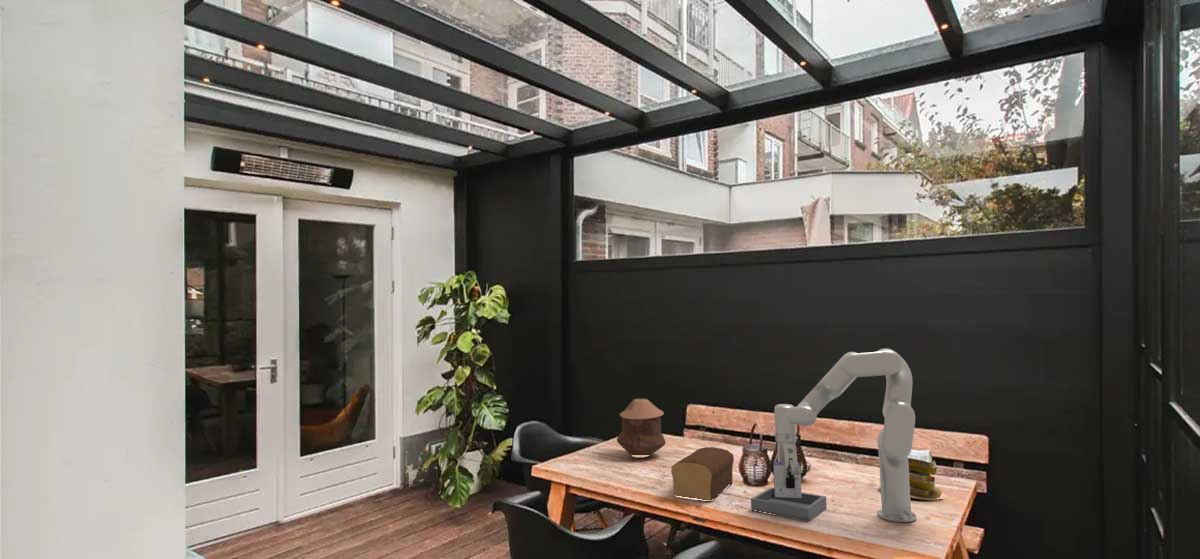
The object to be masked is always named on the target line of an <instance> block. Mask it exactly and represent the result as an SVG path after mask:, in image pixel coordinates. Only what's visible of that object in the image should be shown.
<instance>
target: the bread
mask: <svg viewBox="0 0 1200 559" xmlns="http://www.w3.org/2000/svg"><path fill="white" fill-rule="evenodd" d="M734 461H735V458H734V454H733V453H732V452H731V451H729V450H728V449H725V448H721V447H714V446H713V447H712V446H710V447H709V446H707V447H706V446H705V447H701V448H698V449H696V450H695V451H693V452H692V453H691V454H688V455H687V456H686V457H684V458H683V459H680V460H678V461H677V462H675V464H673V465H672V466H671V470H670V471H671V472H670V473H671V477H672V483H673V494H674V495H676V496H682V497H689V498H697V499H702V500H712V499H714V498H715V497H716V496H717V495H718V494H720V493H721V492H722V491H723V490H724V489H725V488H726V487H727V486H728V485H729V484H731V483H732V484H733V468H734V467H733V465H734ZM732 484H731V485H732ZM722 493H723V492H722ZM722 493H721V494H722ZM721 494H720V495H721ZM716 498H717V497H716ZM716 498H715V499H716ZM715 499H714V500H715Z"/></svg>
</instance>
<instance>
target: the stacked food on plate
mask: <svg viewBox="0 0 1200 559" xmlns="http://www.w3.org/2000/svg"><path fill="white" fill-rule="evenodd" d="M908 464H909V483H910V498H913V499H919V500H924V501H938V500H937V498H940V496H941V494H942V492H941V491H944V490H943V489H941V488H939V487H937V486H936V477H935V475H936V474H937V468H938V466H937V464H936V461H935V460H933V453H932V451H931V450H930V449H925V450H921V449H914V448H911V452H910V454H909V455H908ZM932 475H933V476H932ZM878 483H879V484H880V478H878Z"/></svg>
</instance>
